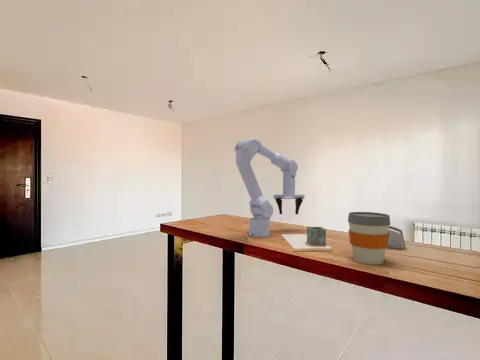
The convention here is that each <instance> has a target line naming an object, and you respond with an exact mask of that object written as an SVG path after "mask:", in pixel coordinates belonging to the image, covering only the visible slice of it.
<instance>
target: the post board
mask: <svg viewBox="0 0 480 360" xmlns="http://www.w3.org/2000/svg"><path fill="white" fill-rule="evenodd" d="M280 235H281V236H282V237H283V239H285V240H286V242H287V243H289V245H290V246H291V247H292V248H293V249H294V250H293V252H294V253H306V252H307V253H313V252H316V253H317V252H318V253H319V252H320V253H323V252H325V253H327V252H330V253H332V252H333V250H321V249H332V247H331V246H330V245H329V244H328V243H326V246H311V245H310V244H309V243H307V233H306V234H305V233H304V234H301V233H299V234H298V233H296V234H294V233H293V234H290V233H289V234H287V233H285V234H280ZM297 249H298V250H297ZM299 249H301V250H299ZM303 249H305V250H303ZM307 249H309V250H307ZM310 249H315V250H310ZM316 249H318V250H316ZM319 249H320V250H319Z"/></svg>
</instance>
